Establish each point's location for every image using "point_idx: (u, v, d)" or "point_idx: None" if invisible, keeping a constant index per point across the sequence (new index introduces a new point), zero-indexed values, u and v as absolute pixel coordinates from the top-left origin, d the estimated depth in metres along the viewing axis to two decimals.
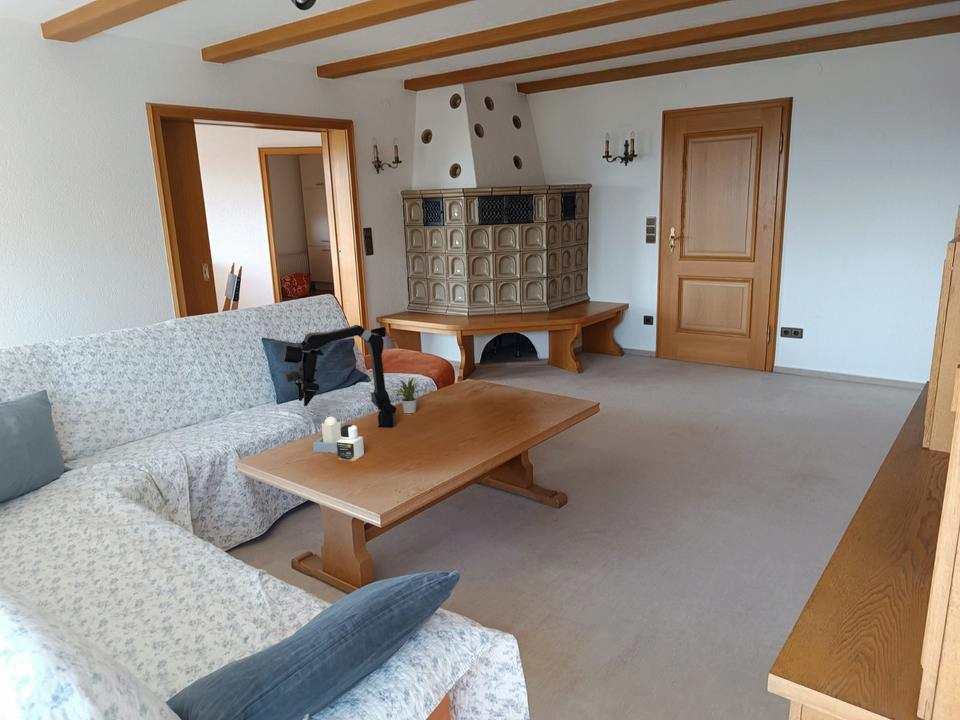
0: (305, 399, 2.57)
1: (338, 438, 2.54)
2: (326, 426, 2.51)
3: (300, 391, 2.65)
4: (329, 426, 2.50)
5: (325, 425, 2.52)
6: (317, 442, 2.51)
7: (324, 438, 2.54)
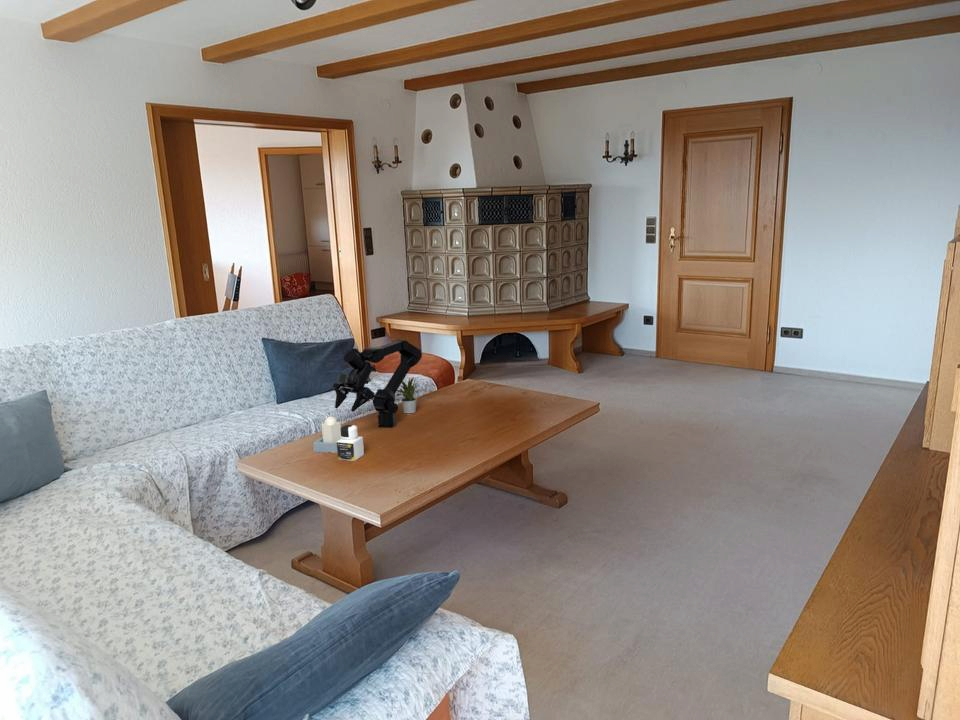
0: (356, 404, 2.56)
1: (338, 438, 2.54)
2: (326, 426, 2.51)
3: (339, 399, 2.63)
4: (329, 426, 2.50)
5: (325, 425, 2.52)
6: (317, 442, 2.51)
7: (324, 438, 2.54)
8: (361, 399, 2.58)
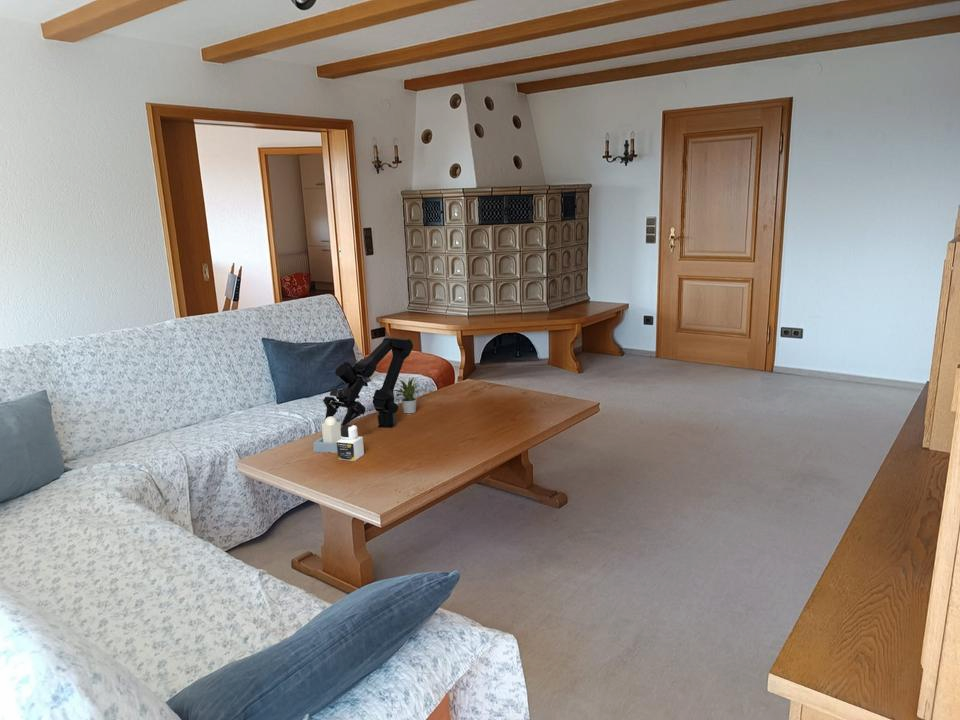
0: (346, 419, 2.52)
1: (338, 438, 2.54)
2: (326, 426, 2.51)
3: (329, 413, 2.59)
4: (329, 426, 2.50)
5: (325, 425, 2.52)
6: (317, 442, 2.51)
7: (324, 438, 2.54)
8: (352, 414, 2.54)
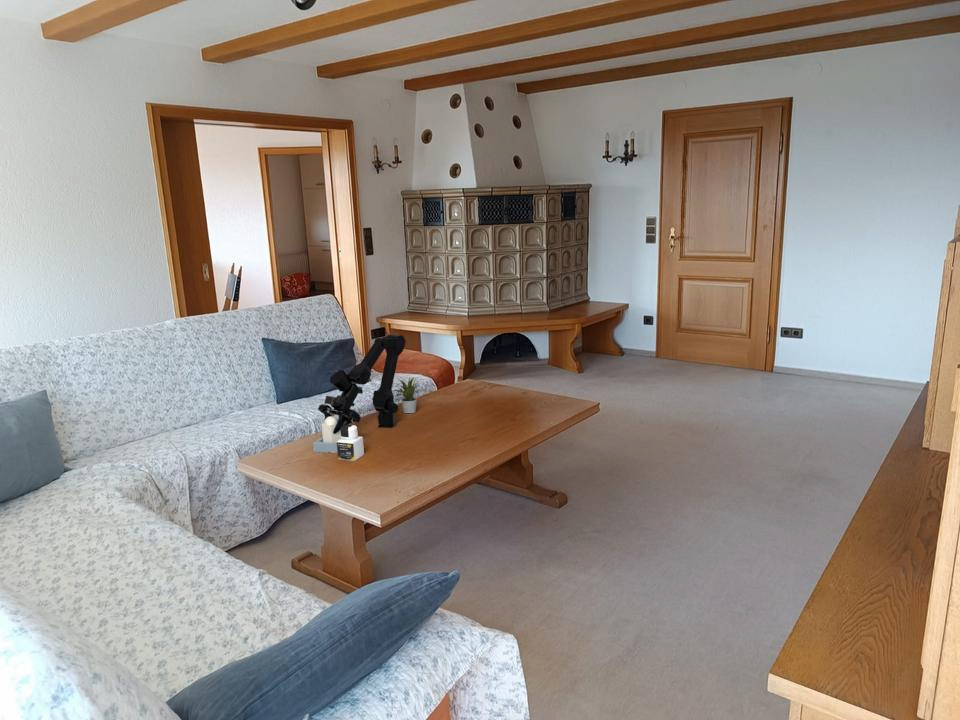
0: (338, 426, 2.52)
1: (338, 438, 2.54)
2: (326, 426, 2.51)
3: None
4: (329, 426, 2.50)
5: (325, 425, 2.52)
6: (317, 442, 2.51)
7: (324, 438, 2.54)
8: (343, 421, 2.54)
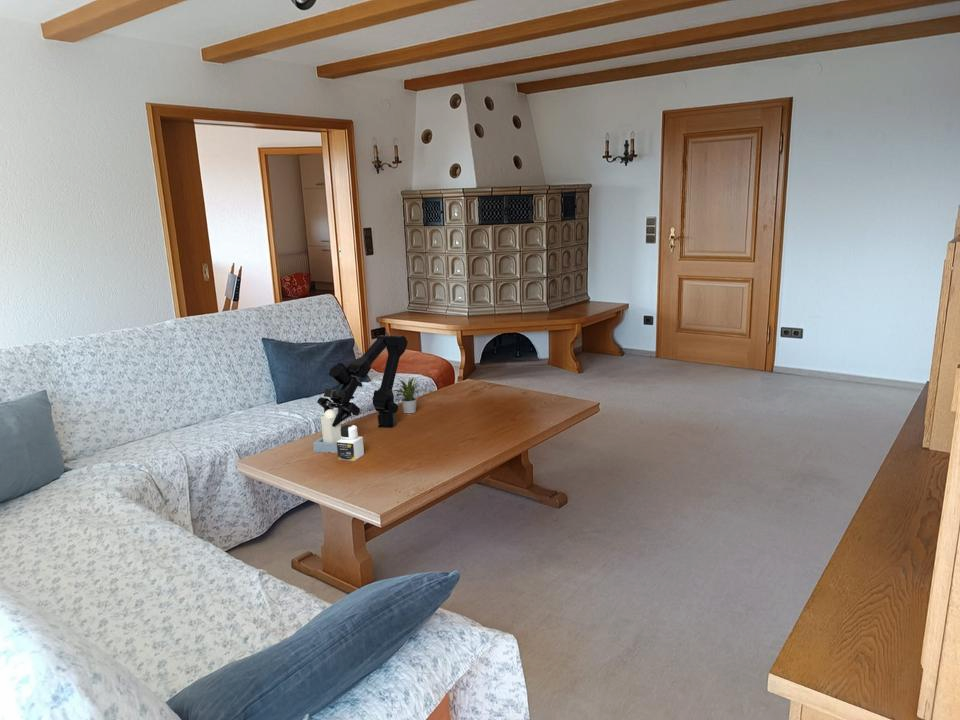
0: (337, 419, 2.51)
1: (337, 431, 2.53)
2: (326, 419, 2.51)
3: None
4: (328, 419, 2.50)
5: (324, 418, 2.51)
6: (317, 442, 2.51)
7: (323, 431, 2.53)
8: (343, 414, 2.53)
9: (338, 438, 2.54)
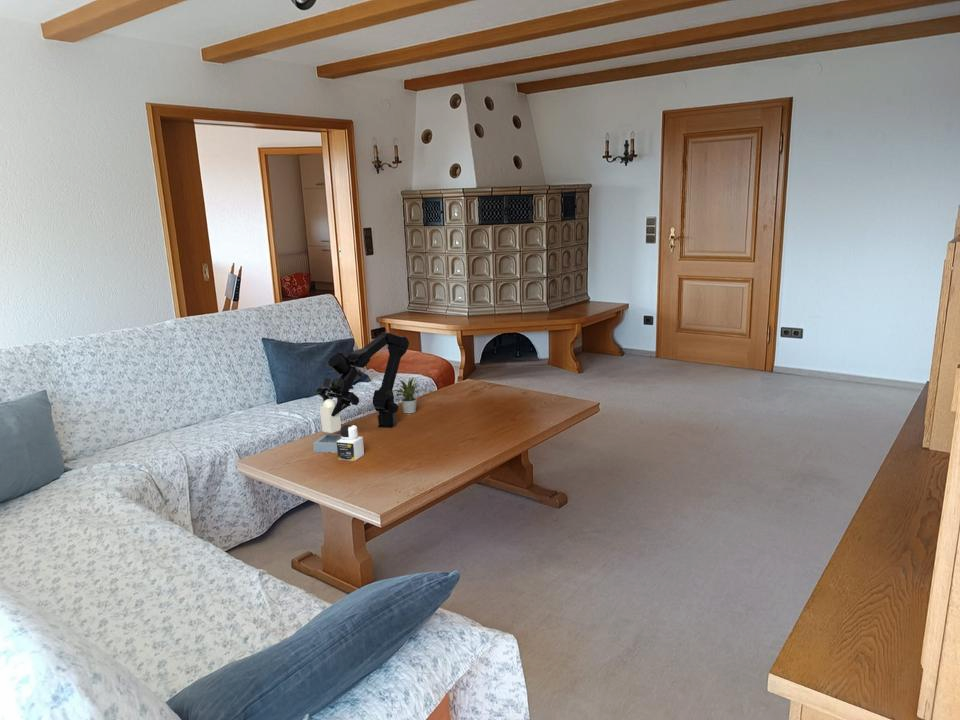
0: (336, 409, 2.50)
1: (337, 421, 2.53)
2: (325, 409, 2.50)
3: None
4: (327, 408, 2.49)
5: (323, 408, 2.50)
6: (317, 442, 2.51)
7: (322, 421, 2.52)
8: (342, 404, 2.52)
9: (337, 428, 2.53)
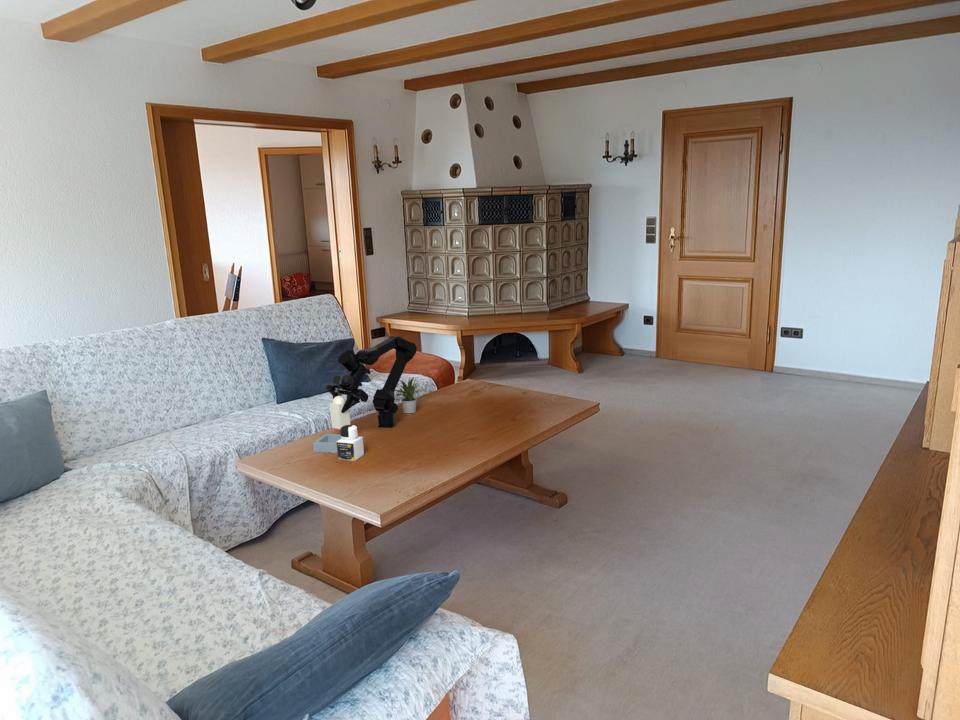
0: (346, 405, 2.54)
1: (346, 417, 2.56)
2: (335, 406, 2.54)
3: None
4: (337, 405, 2.53)
5: (333, 404, 2.54)
6: (317, 442, 2.51)
7: (332, 417, 2.56)
8: (351, 400, 2.56)
9: (347, 424, 2.57)
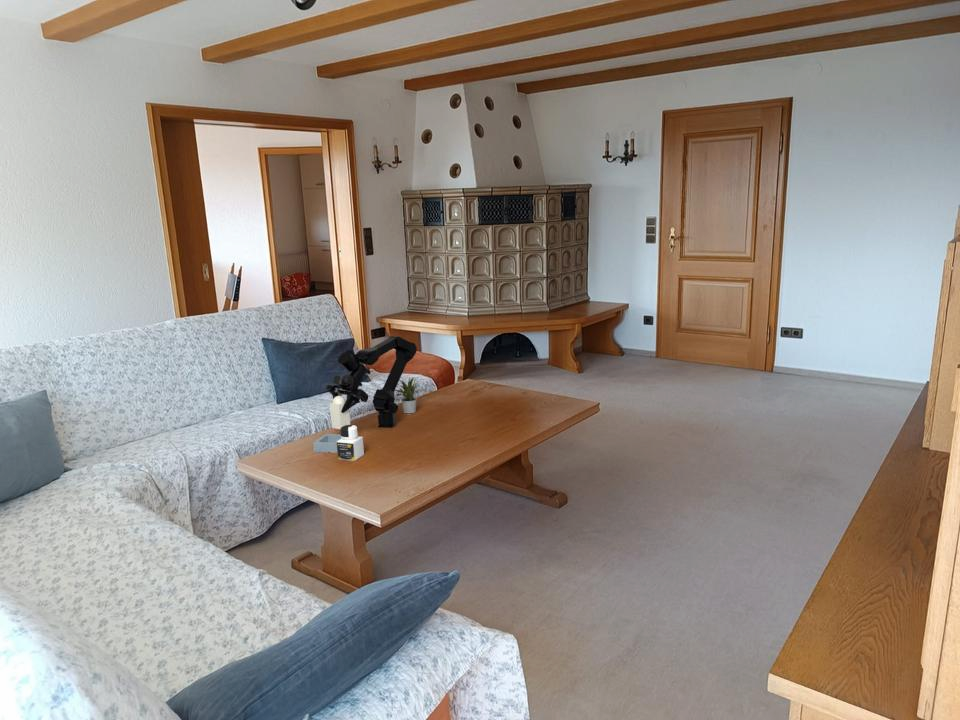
0: (346, 405, 2.54)
1: (346, 417, 2.56)
2: (335, 406, 2.54)
3: None
4: (337, 405, 2.53)
5: (333, 404, 2.54)
6: (317, 442, 2.51)
7: (332, 417, 2.56)
8: (351, 400, 2.56)
9: (347, 424, 2.57)
